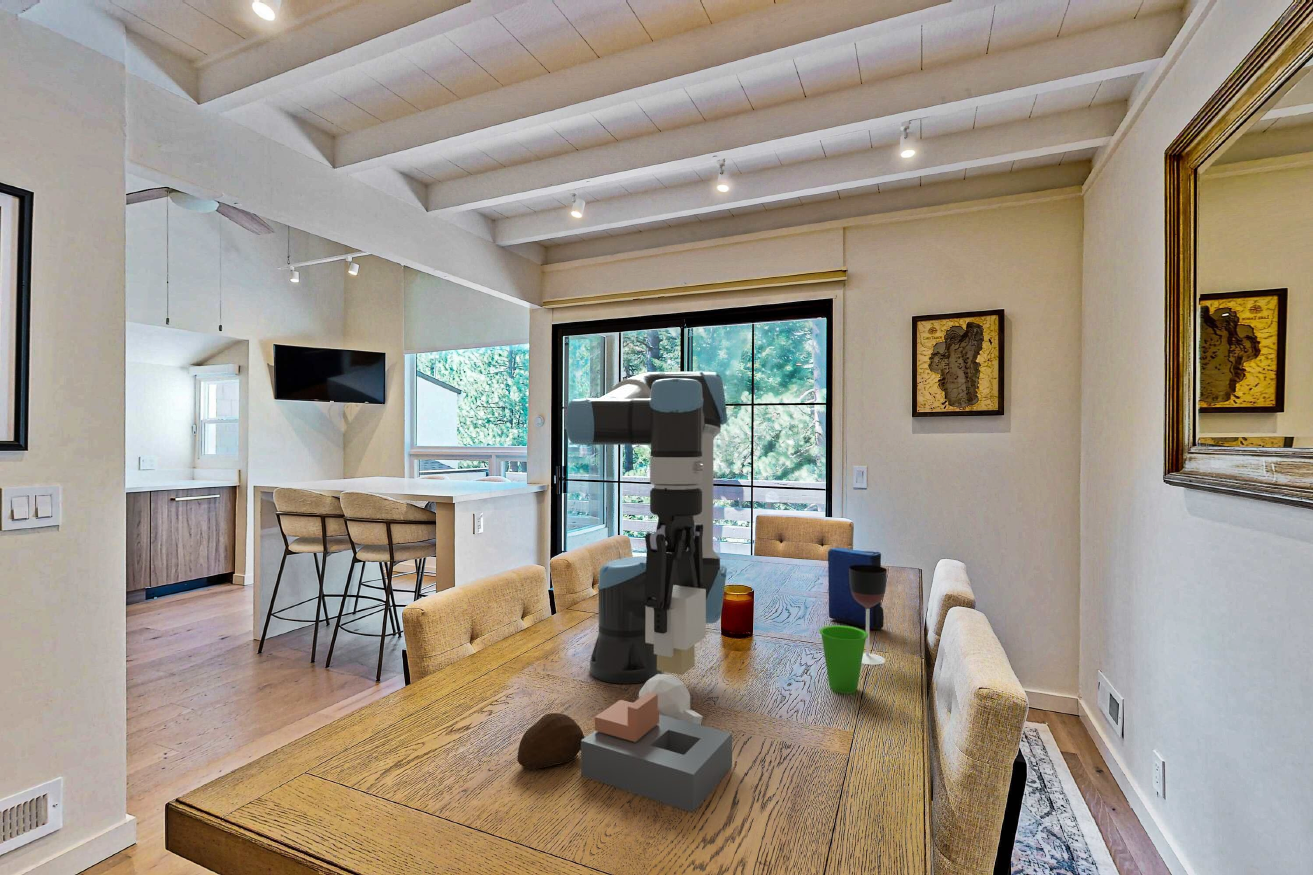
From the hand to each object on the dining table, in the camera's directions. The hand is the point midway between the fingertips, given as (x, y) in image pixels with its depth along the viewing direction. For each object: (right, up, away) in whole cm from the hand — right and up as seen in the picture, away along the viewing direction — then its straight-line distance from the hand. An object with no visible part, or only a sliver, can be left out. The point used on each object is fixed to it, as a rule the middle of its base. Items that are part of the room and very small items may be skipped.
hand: (675, 646), depth 88 cm
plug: (0, -3, 0) cm, 3 cm away
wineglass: (+44, -19, +48) cm, 68 cm away
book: (+50, -20, +74) cm, 91 cm away
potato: (-19, -19, +4) cm, 27 cm away
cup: (+34, -19, +32) cm, 50 cm away
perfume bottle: (-1, -19, +14) cm, 23 cm away
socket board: (-3, -19, +1) cm, 19 cm away
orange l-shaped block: (-7, -13, +4) cm, 16 cm away
